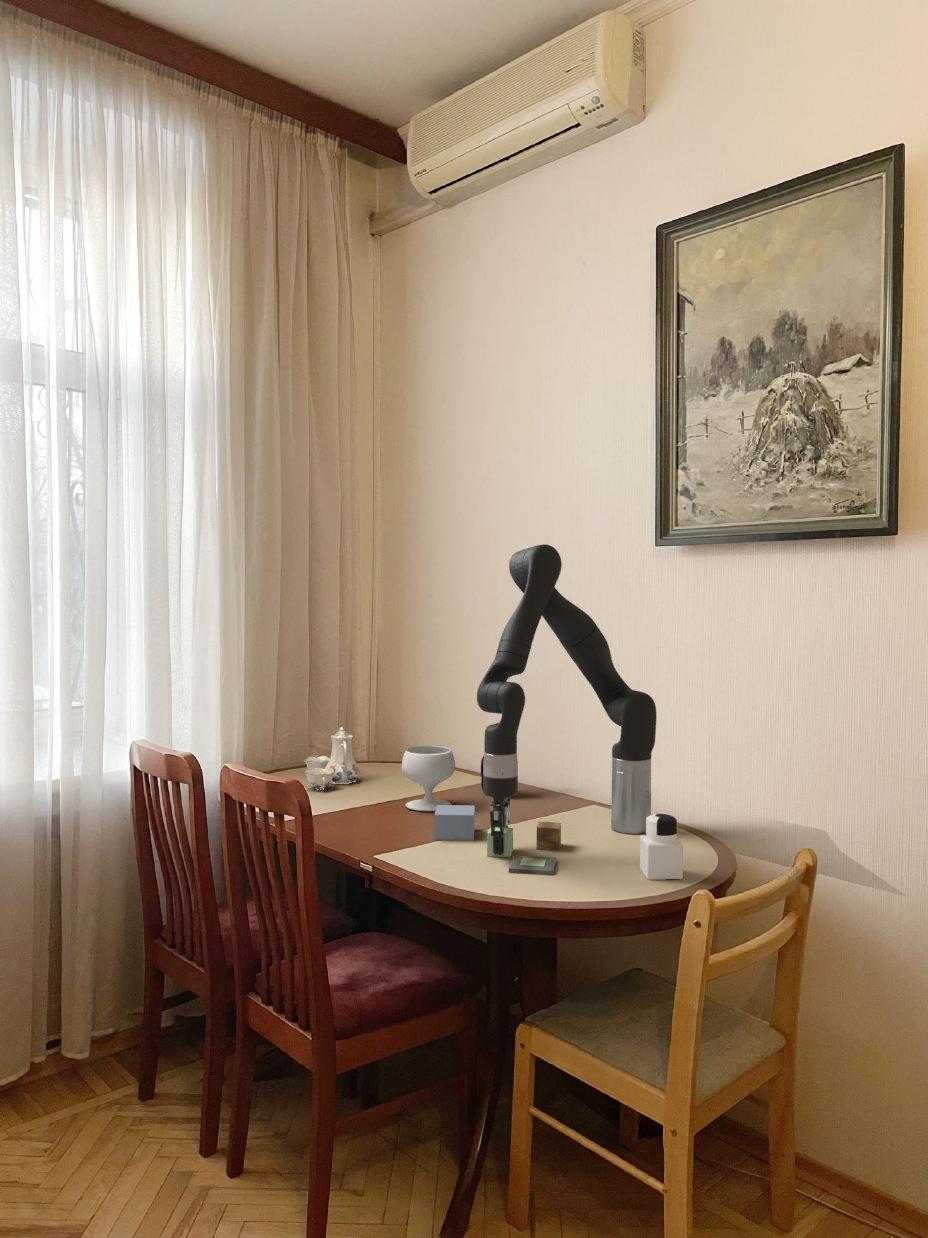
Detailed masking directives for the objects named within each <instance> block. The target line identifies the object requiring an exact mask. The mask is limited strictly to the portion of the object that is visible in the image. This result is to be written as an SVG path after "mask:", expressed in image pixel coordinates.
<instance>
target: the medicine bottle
mask: <svg viewBox="0 0 928 1238" xmlns="http://www.w3.org/2000/svg"><path fill="white" fill-rule="evenodd" d="M677 825H678V820H677V818H676V817H675V816H673V815H670V814H667V813H654V814H651V815H650V816H648V817H647V818H646V833H645V834H644V835H643V834H642V835H640V838H639V840H640V841H639V869H640V871H641V872H642V874H643V876H644V877H645V878H646V879H647V880H648V881H650V880H651V881H653V880H654V881H659V880H660V881H662V880H665V881H667V880H666V879H680V880H683V876H684V875H683V874H684V873H683V871H684V868H683V867H684V845H683V844H682V843H681V841H680V840H679V839H678V838H677V836H678V834H677V831H678V829H677V828H678V826H677Z"/></svg>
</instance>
